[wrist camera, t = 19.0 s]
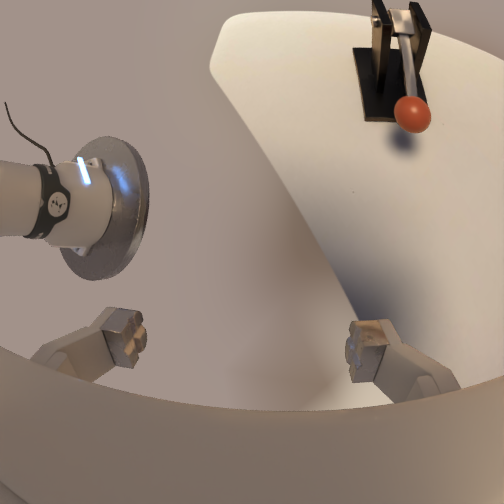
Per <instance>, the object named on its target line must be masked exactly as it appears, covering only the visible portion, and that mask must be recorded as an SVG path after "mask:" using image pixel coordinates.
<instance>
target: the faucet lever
mask: <svg viewBox="0 0 504 504" xmlns="http://www.w3.org/2000/svg"><path fill="white" fill-rule="evenodd" d="M387 13H388V15H389V18H390V20H391V23H392V35H391V36H392V37H397V38H398V44H399V50H400V56H401V62H402V69H403V77H404V86H405V96H404V97H402V98H400V99H399V100H398V101H397V103H396V105H395V108H394V115H395V119H396V121H397V123H398V124H399V125H400V127H401V128H403V129H404V130H406V131H408V132H410V133H420V132H423V131H424V130H426V129H427V128H428V126H429V124H430V121H431V112H430V109H429V107H428V105H427V104H426V103H425V102H424V101H423V100H422V99H420V98H419V97H417V87H416V78H415V70H414V63H413V56H412V50H411V44H410V39H409V38H411V37H412V36H414V35H415V29H414V25H413V20H412V16H411V12H410V10H402V9H391V8H390V9H389V10H388V12H387Z"/></svg>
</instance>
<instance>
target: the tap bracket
mask: <svg viewBox="0 0 504 504" xmlns="http://www.w3.org/2000/svg"><path fill="white" fill-rule="evenodd" d="M409 10H410V12H411V16H412V20H413V25H414V29H415V35H414V36H412V37H411V38H409V39H410V44H411V50H412V56H413V63H414V70H415V78H416V87H417V97H419V98H420V99H422V100H423V101H424V102H425V103H426V104H427V100H426V96H425V92H424V88H423V85H422V81H421V78H420V74H419V72H420V69H421V66H422V62H423V59H424V56H425V53H426V49H427V46H428V43H429V39H430V35H431V32H432V29H431V27H430V25H429V23H428V20H427V18H426V17H425V14H424V13H423V11H422V9H421V7H420V5H419V3H417V2H410V3H409ZM371 24H372V48H353V55H354V60H355V65H356V70H357V75H358V80H359V86H360V92H361V98H362V104H363V111H364V118H365V121H388V122H397V121H396V119H395V115H394V108H395V105H396V103H397V101H398V100H399V99H400V98H402V97H404V96H405V86H404V77H403V69H402V62H401V56H400V50H399V49H390V44H391V35H392V23H391V20H390V18H389V15H388V13H387V11H386V8H385V6H384V4H383V2H382V0H372V16H371ZM427 105H428V104H427ZM430 122H431V121H430Z"/></svg>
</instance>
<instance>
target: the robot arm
mask: <svg viewBox="0 0 504 504" xmlns="http://www.w3.org/2000/svg"><path fill="white" fill-rule="evenodd" d="M5 106H6V110H7V114H8V117H9V120H10V122H11V124H12V126H13V127H14V129H15V130H16V131H17V132H18V133H19V134H20V135H21V136H22V137H24V138H25V139H27V140H28V141H30V142H31V143H33V144H34V145H36V146H37V147H39V148H40V149H42V150H44V152H45V153H46V155H47V157H48V160H49V163H50V166H47V165H44V164H34V165H33V166H30V165H25V164H19V163H13V162H8V161H0V237H1V236H23V237H25V238H30V239H43V238H45V239H44V240H45V241H46V242H48V243H49V245H51V246H52V247H60V248H70V249H72V250H73V251H74V252H75V253H77V254H78V255H79V256H84V257H85V256H86V255H87V254H88V252H89V250H90V248H91V246H92V245H93V244H95V243H96V242H97V241H98V240H99V239H100V238H101V237H102V236H103V234H104V232H105V231H106V228H107V226H108V224H109V220H110V217H111V212H112V203H113V196H112V188H111V184H110V181H109V179H108V177H107V175H106V174H105V173H104V171H103V167H102V162H101V159H100V158H92V159H90V160H87V161H84V162H83V159H82V158H80V157H78V158H77V159H78V162H79V163H76V162H71V161H64V162H63V163H60V164H58V165H57V166H54V165H53V162H52V159H51V157H50V154H49V152H48V151H47V149H46V148H45V147H43V146H41V145H39V144H38V143H36V142H35V141H33V140H31V139H30V138H28V137H27V136H25V135H24V134H22V133H21V132H20V131H19V130H18V129H17V128H16V127H15V125H14V124H13V122H12V120H11V118H10V115H9V111H8V108H7V104H6V102H5ZM142 322H143V317H142V313H141V312H140V311H135V310H128V309H122V308H115V307H107V308H105V310H104V311H103V312H102V313H101V314H100V315H99V316H98V317H97V318H96V320H95V321H94V322H93V323H92V324H91V325H90V326H89V327H84V328H82V329H79V330H77V331H75V332H72V333H70V334H68V335H65V336H63V337H61V338H58V339H56V340H53V341H51V342H49V343H47V344H44V345H42V346H41V347H40V349H39V350H38V351H37V352H36V353H35V354H34V355H33V357H32V358H31V359H30V360H29V359H26V358H24V357H22V356H19V355H17V354H15V353H13V352H11V351H9V350H7V349H5V348H3V347H1V346H0V504H504V375H503V376H501V377H498V378H495V379H492V380H489V381H486V382H483V383H480V384H477V385H474V386H470V387H467V388H463V389H461V387H460V386H459V384H458V382H457V380H456V378H455V377H454V375H453V373H452V372H451V370H450V369H448V368H446V367H445V366H443V365H441V364H440V363H438V362H436V361H435V360H433V359H431V358H430V357H428V356H426V355H425V354H423V353H421V352H420V351H418V350H416V349H415V348H413V347H411V346H410V345H408V344H403V343H402V341H401V339H400V337H399V336H398V334H397V332H396V330H395V328H394V327H393V325H392V323H391V321H390V320H389V319H380V320H368V321H352V322H351V324H350V328H349V331H350V334H351V336H350V337H349V338H348V339H347V341H346V346H345V357H346V361H347V363H348V364H349V365H350V369H349V372H350V376H351V380H352V383H360V382H373V383H374V384H375V385H376V386H377V387H378V388H379V389H380V390H381V391H382V392H383V393H384V394H385V395H387V396H388V397H389V398H390V399H391V400H392V401H393V402H394V404H387V405H380V406H373V407H363V408H353V409H342V410H325V411H258V410H242V409H229V408H218V407H209V406H201V405H193V404H186V403H180V402H174V401H168V400H162V399H157V398H152V397H147V396H142V395H138V394H133V393H129V392H124V391H121V390H116V389H113V388H109V387H106V386H102V385H98V384H95V383H92V382H93V381H95V380H96V379H98V378H99V377H101V376H102V375H104V374H105V373H106V372H108V371H109V370H111V369H112V368H113V367H115V366H120V367H126V368H131V369H133V368H134V366H135V364H136V363H137V361H138V359H139V356H138V353H140V352H142V351H143V350H144V348H145V347H146V342H147V333H146V329H145V328H144V327H143V326H142V324H141V323H142Z"/></svg>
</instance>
